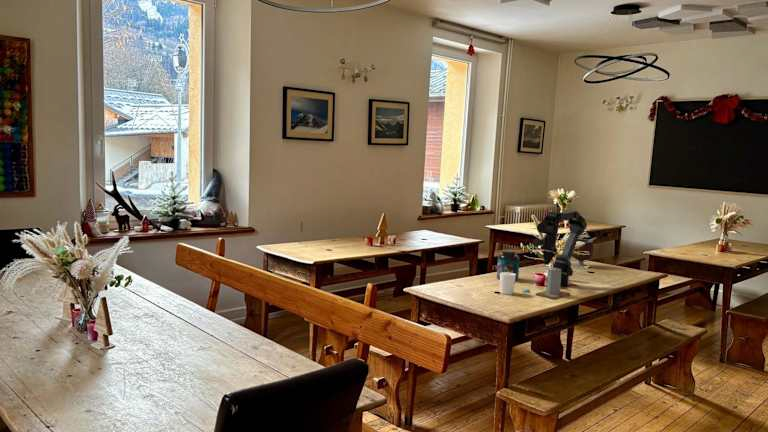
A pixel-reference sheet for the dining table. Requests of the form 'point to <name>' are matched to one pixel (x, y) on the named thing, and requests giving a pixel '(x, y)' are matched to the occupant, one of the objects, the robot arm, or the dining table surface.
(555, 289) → the canister
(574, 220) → the robot arm
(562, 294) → the walnut board
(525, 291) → the teal token
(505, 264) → the container
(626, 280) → the dining table surface
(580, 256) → the mate gourd
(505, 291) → the white cup
